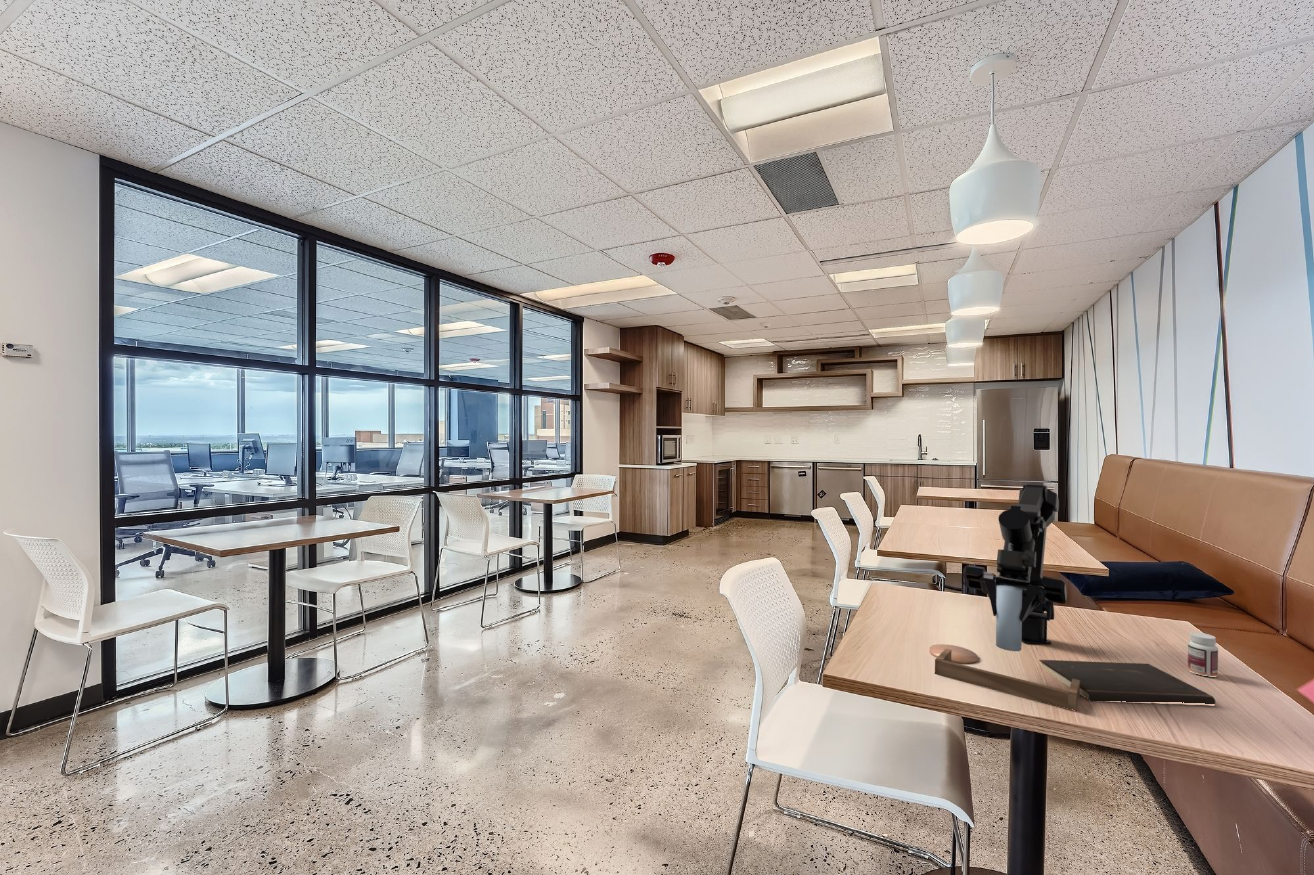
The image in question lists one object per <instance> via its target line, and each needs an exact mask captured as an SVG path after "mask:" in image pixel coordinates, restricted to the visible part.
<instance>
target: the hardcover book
mask: <svg viewBox="0 0 1314 875" xmlns="http://www.w3.org/2000/svg"><path fill="white" fill-rule="evenodd" d="M1039 662H1040V663H1041V664H1040V667H1041V669H1042V670H1044V671H1045V672H1046V673H1048V674H1049V675H1051V676H1052V677H1054V678H1055V679H1056V680H1059V681H1060V682H1062V683H1063V684H1064V685H1066V686H1067V687H1069V688H1070V685H1071V682H1072V679H1077V680H1080V695H1081V697H1083V696H1085V697H1084V699H1086V698H1088V699H1089V700H1090V701H1089V700H1088V699H1087V700H1088V701H1089V702H1093V701H1121V702H1122V701H1126V702H1182V703H1183V702H1184V703H1205V704H1215V705H1216V699H1215V697H1214V696H1213V695H1211V694H1209V693H1208V692H1205V691H1204V690H1201V689H1199V688H1197V687H1196V686H1193V685H1191V684H1189V683H1187V682H1185V681H1183V680H1181V679H1179V678H1177V677H1175V676H1174V675H1171V674H1170V673H1168V672H1166V671H1163V670H1162V669H1160V668H1158V667H1155V666H1154V665H1151V663H1150V664H1149V663H1142V662H1141V663H1139V662H1137V663H1136V662H1135V663H1134V662H1114V661H1113V662H1112V661H1111V662H1110V661H1109V662H1108V661H1090V660H1089V661H1087V660H1085V661H1083V660H1082V661H1081V660H1058V659H1057V660H1056V659H1039Z"/></svg>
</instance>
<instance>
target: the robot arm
mask: <svg viewBox="0 0 1314 875" xmlns="http://www.w3.org/2000/svg"><path fill="white" fill-rule="evenodd" d="M1022 486H1023V487H1022V489H1020V491H1019V494H1018V503H1017V505H1010V506H1009V507H1008V509H1005V510H1003V511H1002V512H1001V513H999V515H998V524H999V527H1000V528H999V529H1000V532H1001V537H1002V540H1004V544H1003V549H1002V548H1001V549H997V557H996V565H997V566H996V572H997V573H998V575H997V574H995V573H993V572H988V571H986V569H985V568H986V567H983V566H977V565H976V566H975V565H969V564H967V565H966V566H965V567H963V572H962V577H963V578H964V583H965V586H966V587H967V588H969V589H973V590H977V591H982V594H985V595H987V596H988V598H989V601H990V605H991V611H992V616H994V617H996V599H997V586H1001V585H1004V586H1013V587H1017V588H1020V589H1022V610H1021V617H1020V620H1021V621H1022V642H1023V643H1025V644H1032V645H1033V644H1035V645H1036V644H1039V645H1040V644H1041V645H1042V644H1043V645H1052V641H1051V640H1049V639H1048V622H1050V621H1052V620H1053V621H1054V620H1055V605H1054V603H1056V604H1062V605H1063V604H1067V598H1068V596H1067V595H1068V592H1067V584H1066V581H1065V580H1064V579H1063V578H1060V577H1053V576H1052V577H1050V576H1046V575H1043V574H1044V573H1043V572H1044V560H1045V550H1046V539H1047V529H1048V527H1049V526H1050V525H1051V524H1052V523H1053V522H1054V521H1055V520H1056V513H1058V512H1059V508H1060V503H1059V502H1060V500H1059V497H1058V493H1056V492H1054V491H1053V490H1050V489H1049V488H1048V486H1047V485H1045V484H1042V483H1041V484H1040V483H1039V484H1037V483H1026V484H1023V485H1022Z"/></svg>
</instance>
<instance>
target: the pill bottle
mask: <svg viewBox="0 0 1314 875" xmlns="http://www.w3.org/2000/svg"><path fill="white" fill-rule="evenodd" d="M1189 637H1190V641H1188V642H1187V670H1188V672H1190V671H1192V672H1194V673H1198V674H1200V675H1207V676H1217V677H1218V675H1219V673H1218V672H1219V648H1218V646H1216V645H1217V644H1216V643H1217V640H1216V639H1217V637H1215V636H1214V635H1211V634H1209V633H1204V632H1190V636H1189Z"/></svg>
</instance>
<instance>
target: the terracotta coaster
mask: <svg viewBox="0 0 1314 875" xmlns="http://www.w3.org/2000/svg"><path fill="white" fill-rule="evenodd" d="M945 649H950V650H952V652H951V662H954V663H958V664H962V665H966V664H974V663H977V661H978V660H979V658H978V655H977V653H975V652H974V651H973V650H971V649H968V648H965V647H962V646H959V645H952V644H943V643H942V644H939V643H938V644H934V645H933V644H932V645H931V646H929V650H928V651H929V654H931V656H933V657H934V658H937V657H938V656H939V655H940V654H941V653H942V652H943V651H944V650H945Z"/></svg>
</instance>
